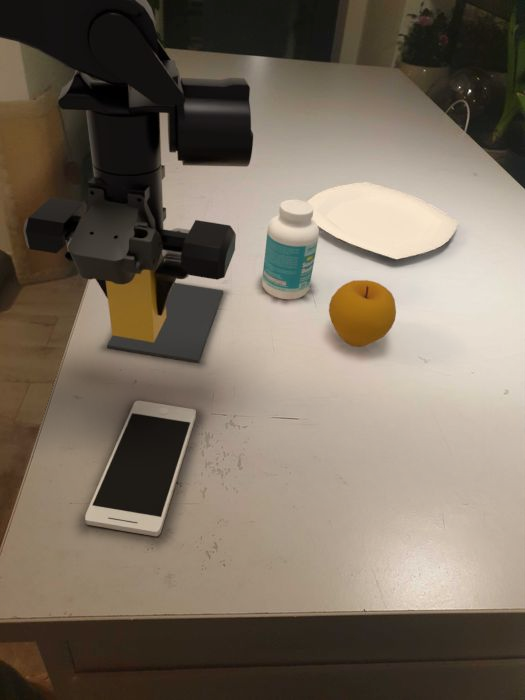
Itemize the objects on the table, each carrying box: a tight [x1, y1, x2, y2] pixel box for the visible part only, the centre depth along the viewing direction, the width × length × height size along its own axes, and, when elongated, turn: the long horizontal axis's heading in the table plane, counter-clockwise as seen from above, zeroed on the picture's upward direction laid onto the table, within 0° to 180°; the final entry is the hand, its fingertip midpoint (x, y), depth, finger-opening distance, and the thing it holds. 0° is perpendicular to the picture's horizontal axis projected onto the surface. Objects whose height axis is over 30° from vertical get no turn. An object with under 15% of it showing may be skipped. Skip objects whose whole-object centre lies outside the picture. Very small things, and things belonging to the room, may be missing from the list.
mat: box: [106, 282, 224, 364], centre depth 73 cm, size 12×16×1 cm
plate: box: [306, 181, 459, 261], centre depth 100 cm, size 27×27×2 cm
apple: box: [328, 279, 397, 348], centre depth 71 cm, size 9×9×9 cm
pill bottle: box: [261, 199, 320, 300], centre depth 77 cm, size 8×7×14 cm
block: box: [106, 252, 166, 342], centre depth 53 cm, size 4×4×9 cm
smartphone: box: [84, 400, 197, 537], centre depth 54 cm, size 7×16×1 cm, turn 173°
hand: (138, 309), depth 55 cm, fingers closed on block, 4 cm apart
